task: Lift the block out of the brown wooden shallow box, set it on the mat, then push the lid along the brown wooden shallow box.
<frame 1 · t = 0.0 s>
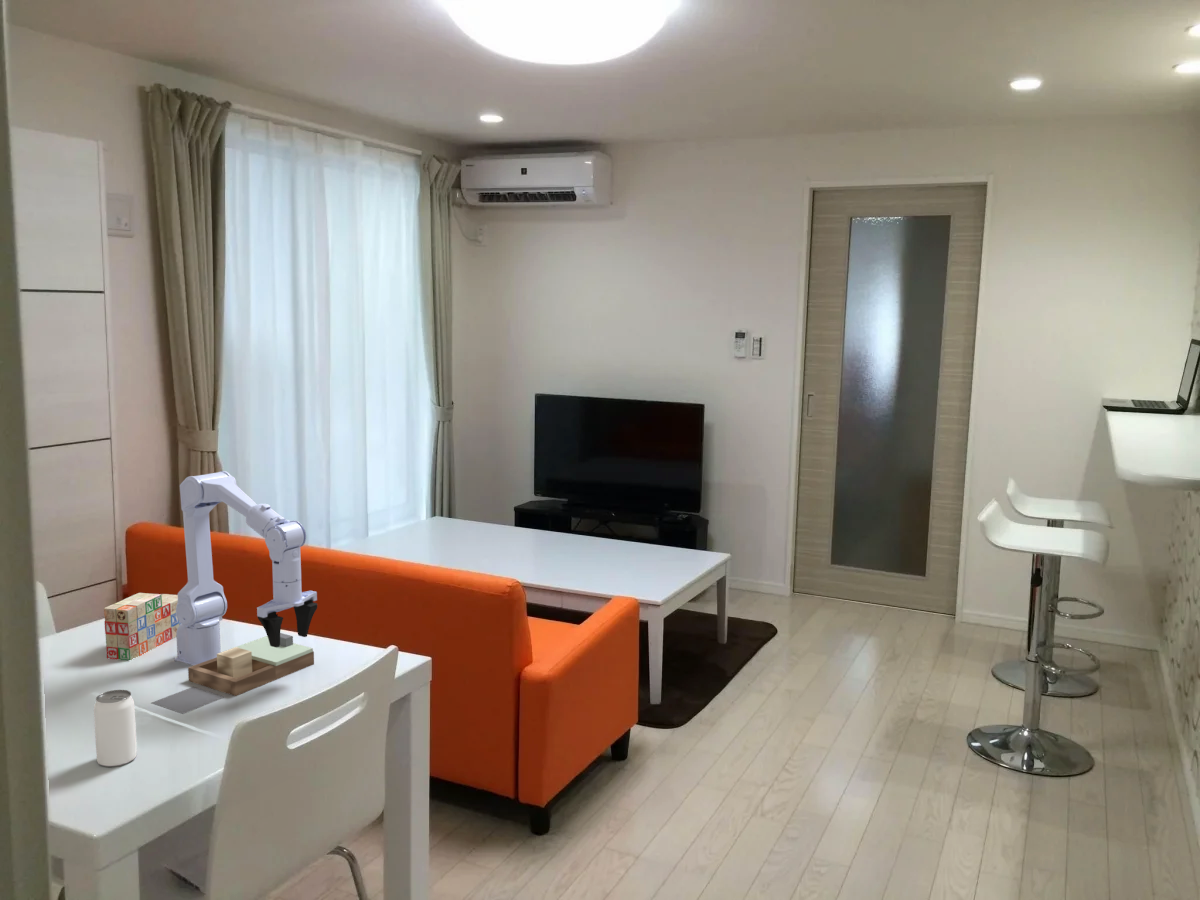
hand: (288, 641, 206), 10 cm above the table, tool pointing down, fingers open, 7 cm apart
lid: (271, 646, 218), point 5 cm above the table, slide at 0.0 cm
mat: (188, 702, 199), on the table
can: (117, 760, 174), on the table
brown wooden shallow box: (252, 674, 214), on the table
block: (235, 679, 210), resting on brown wooden shallow box
stack of blocks: (148, 645, 232), on the table
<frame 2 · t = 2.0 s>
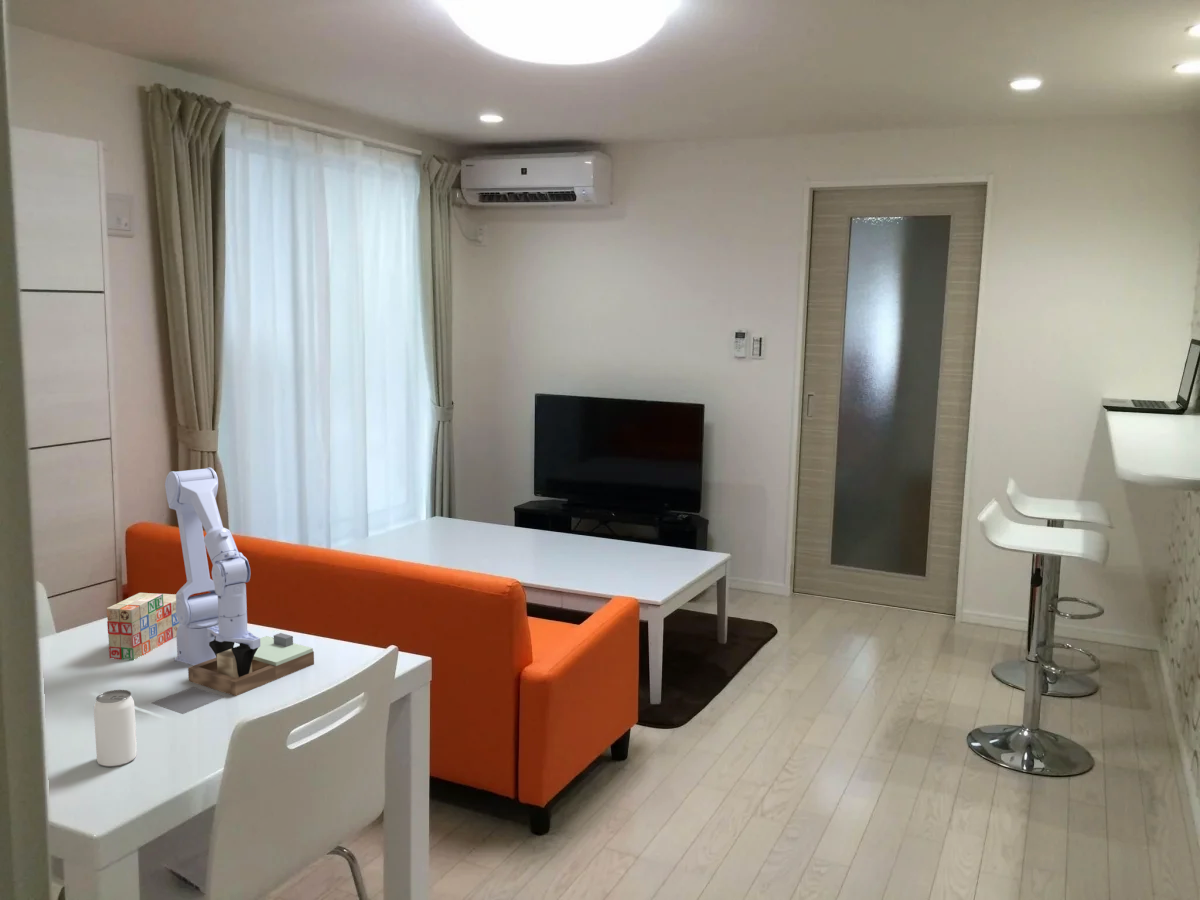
hand: (235, 673, 210), 2 cm above the table, tool pointing down, fingers closed on block, 5 cm apart
block: (235, 679, 210), resting on brown wooden shallow box, touching gripper
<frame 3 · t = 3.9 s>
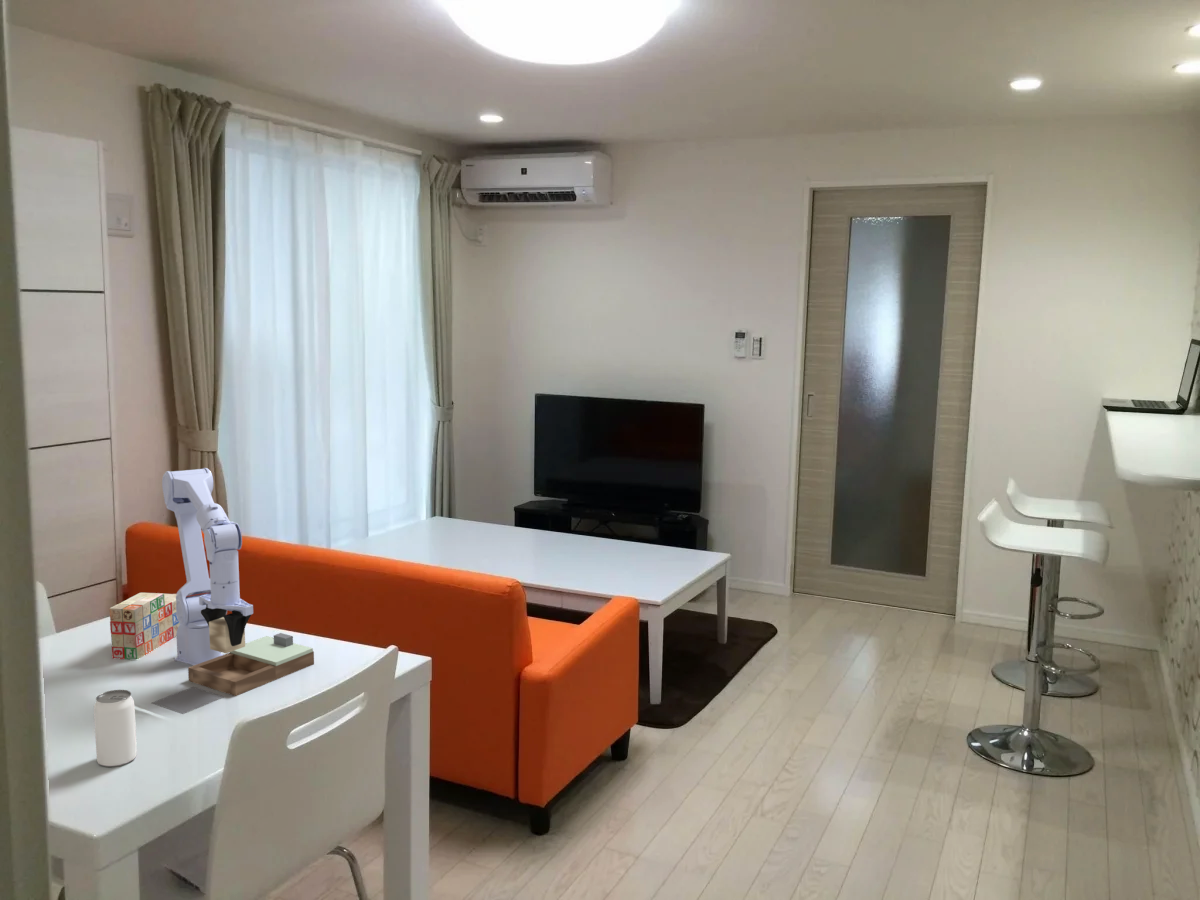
hand: (227, 642, 207), 9 cm above the table, tool pointing down, fingers closed on block, 5 cm apart
block: (227, 647, 207), point 8 cm above the table, touching gripper
everything else where it was.
when the fingers open (3 cm above the table, at t = 6.2 s): block drops 1 cm, resting on mat.
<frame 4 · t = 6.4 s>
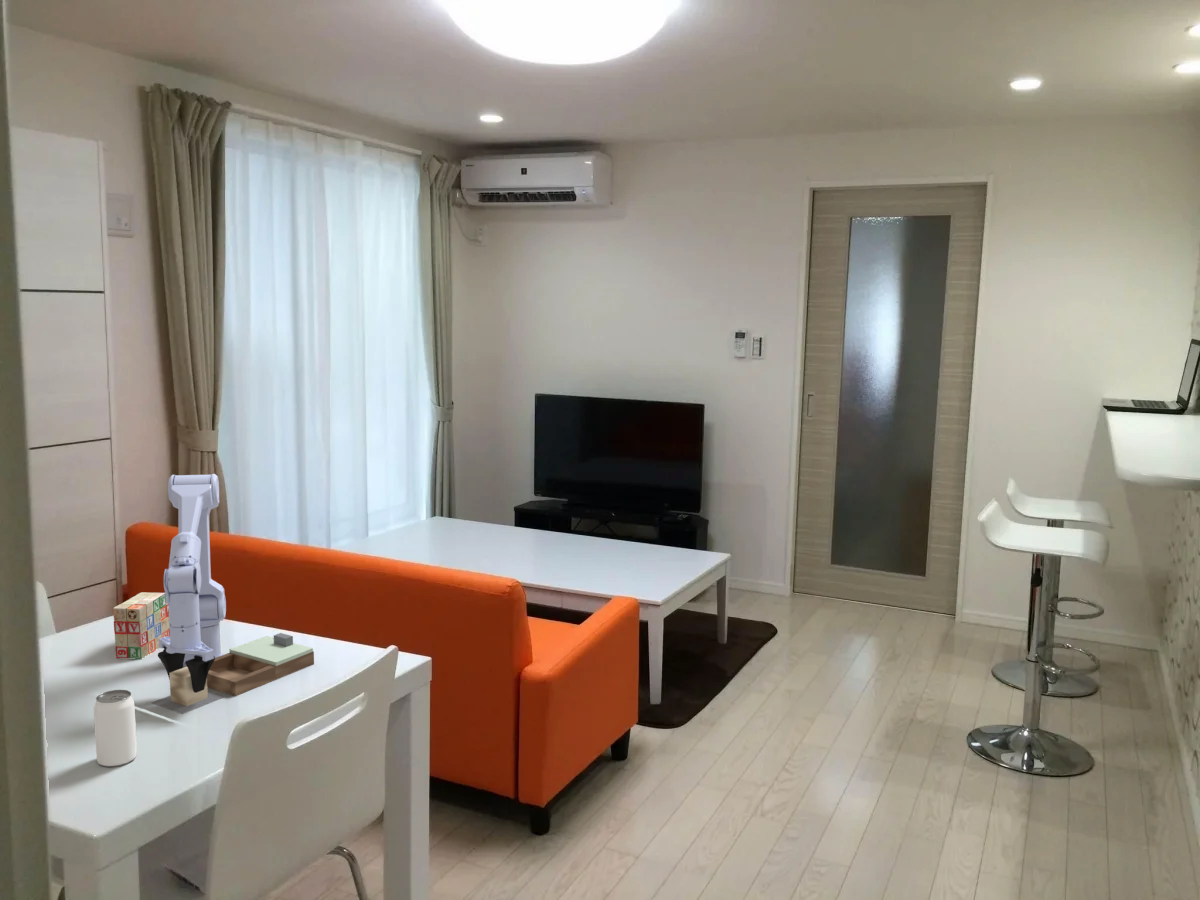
hand: (187, 687, 198), 3 cm above the table, tool pointing down, fingers open, 6 cm apart
block: (189, 699, 199), resting on mat
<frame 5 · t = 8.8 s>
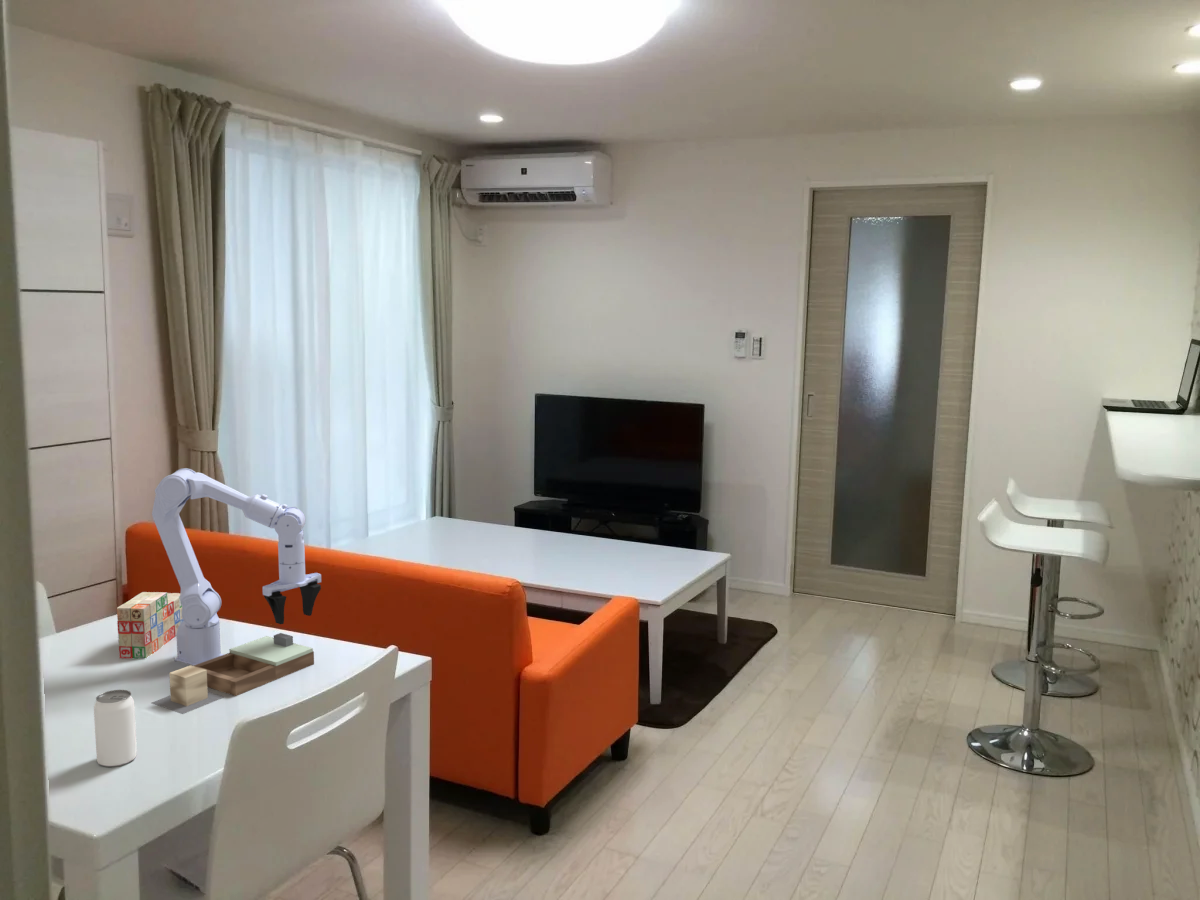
hand: (293, 618, 223), 9 cm above the table, tool pointing down, fingers open, 7 cm apart
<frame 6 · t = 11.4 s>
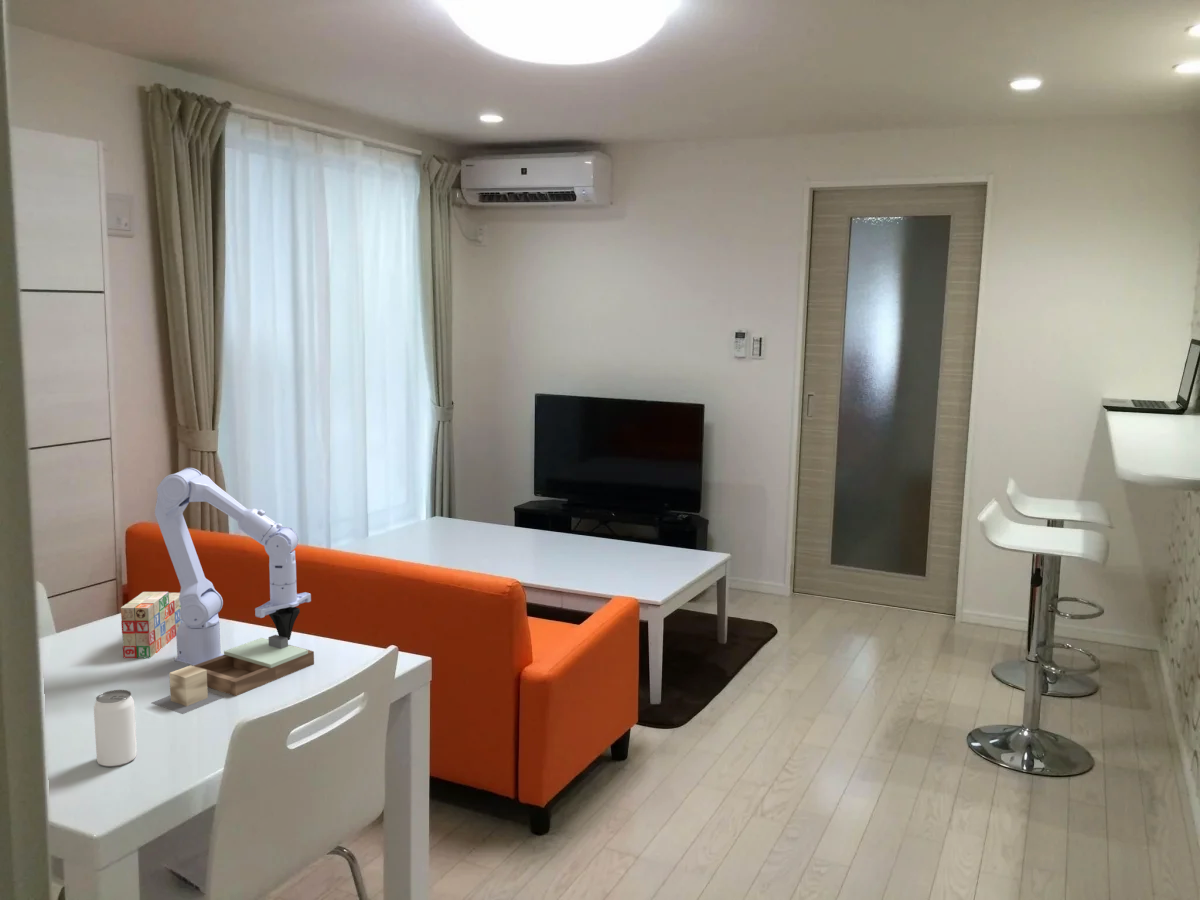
hand: (284, 639, 221), 5 cm above the table, tool pointing down, fingers closed
lid: (266, 648, 217), point 5 cm above the table, slide at 1.5 cm, touching gripper
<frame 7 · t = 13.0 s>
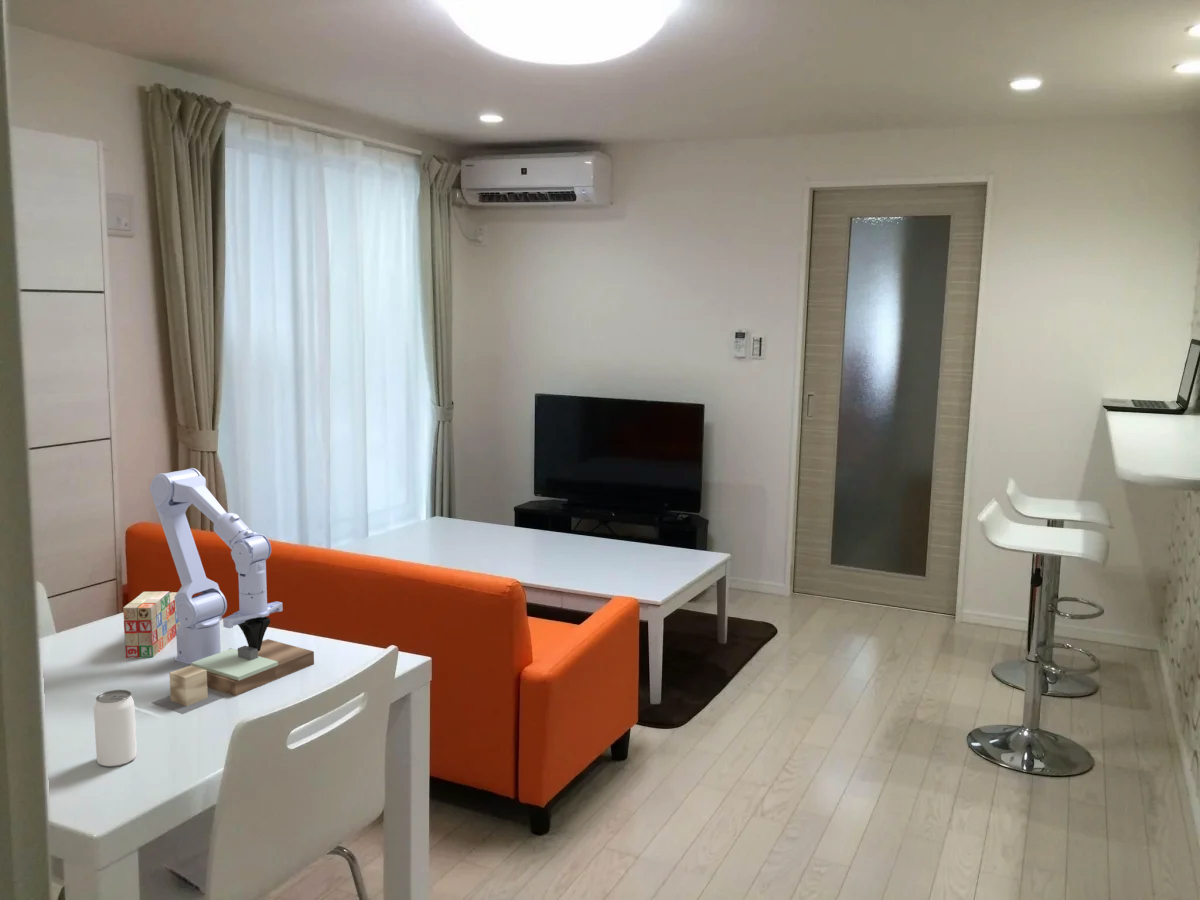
hand: (254, 650, 214), 5 cm above the table, tool pointing down, fingers closed
lid: (234, 659, 209), point 5 cm above the table, slide at 9.9 cm, touching gripper
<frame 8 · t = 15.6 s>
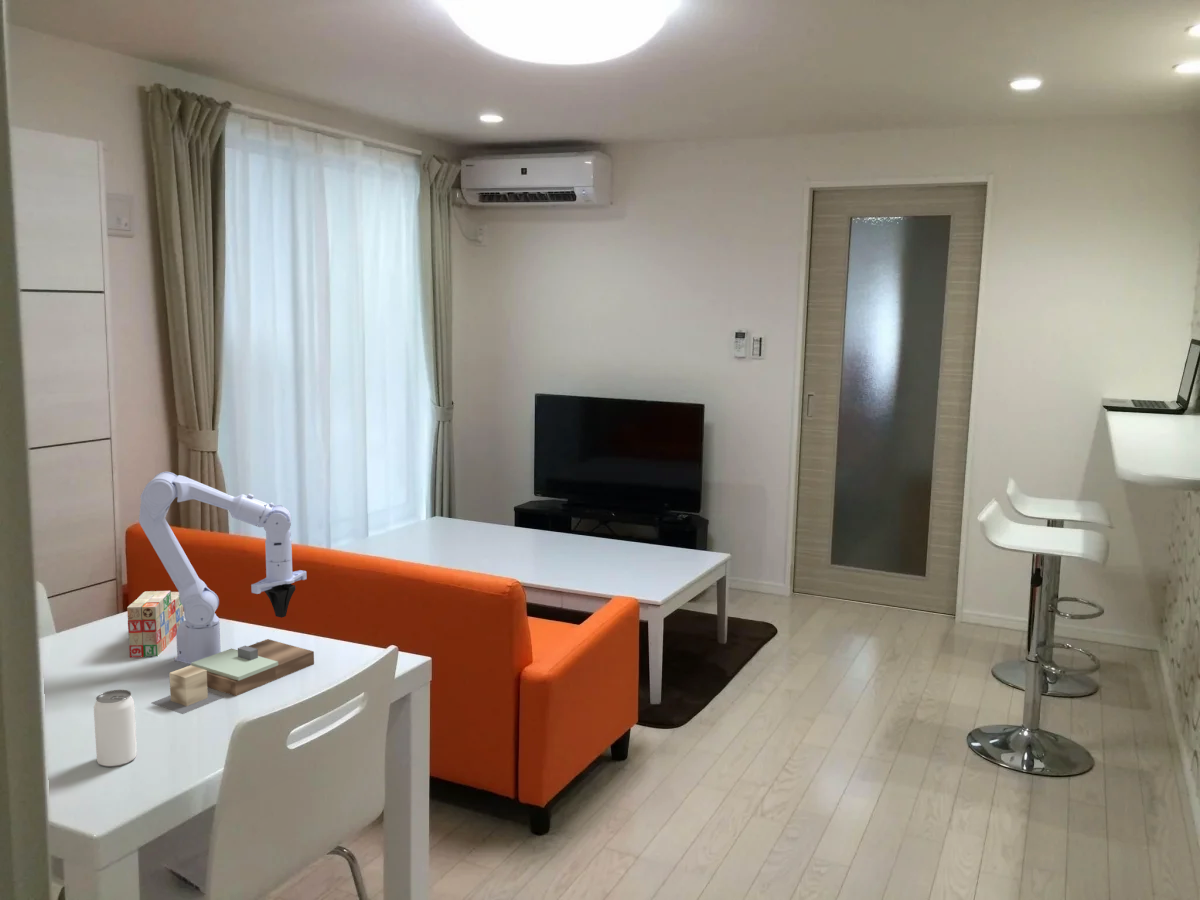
hand: (280, 616, 225), 9 cm above the table, tool pointing down, fingers closed
lid: (234, 659, 209), point 5 cm above the table, slide at 9.9 cm
at the end: block 0.3 cm off-centre on the mat, point 0.5 cm above the mat's base; block tilted 0°; lid slide at 9.9 cm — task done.
